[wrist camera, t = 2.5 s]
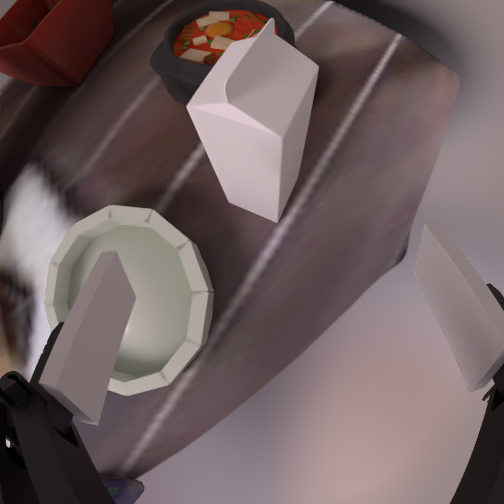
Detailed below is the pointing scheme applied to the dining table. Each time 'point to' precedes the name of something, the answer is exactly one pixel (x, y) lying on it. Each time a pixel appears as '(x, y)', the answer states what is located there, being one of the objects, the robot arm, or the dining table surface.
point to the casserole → (210, 41)
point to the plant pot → (54, 39)
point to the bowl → (139, 292)
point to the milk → (256, 119)
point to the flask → (123, 489)
